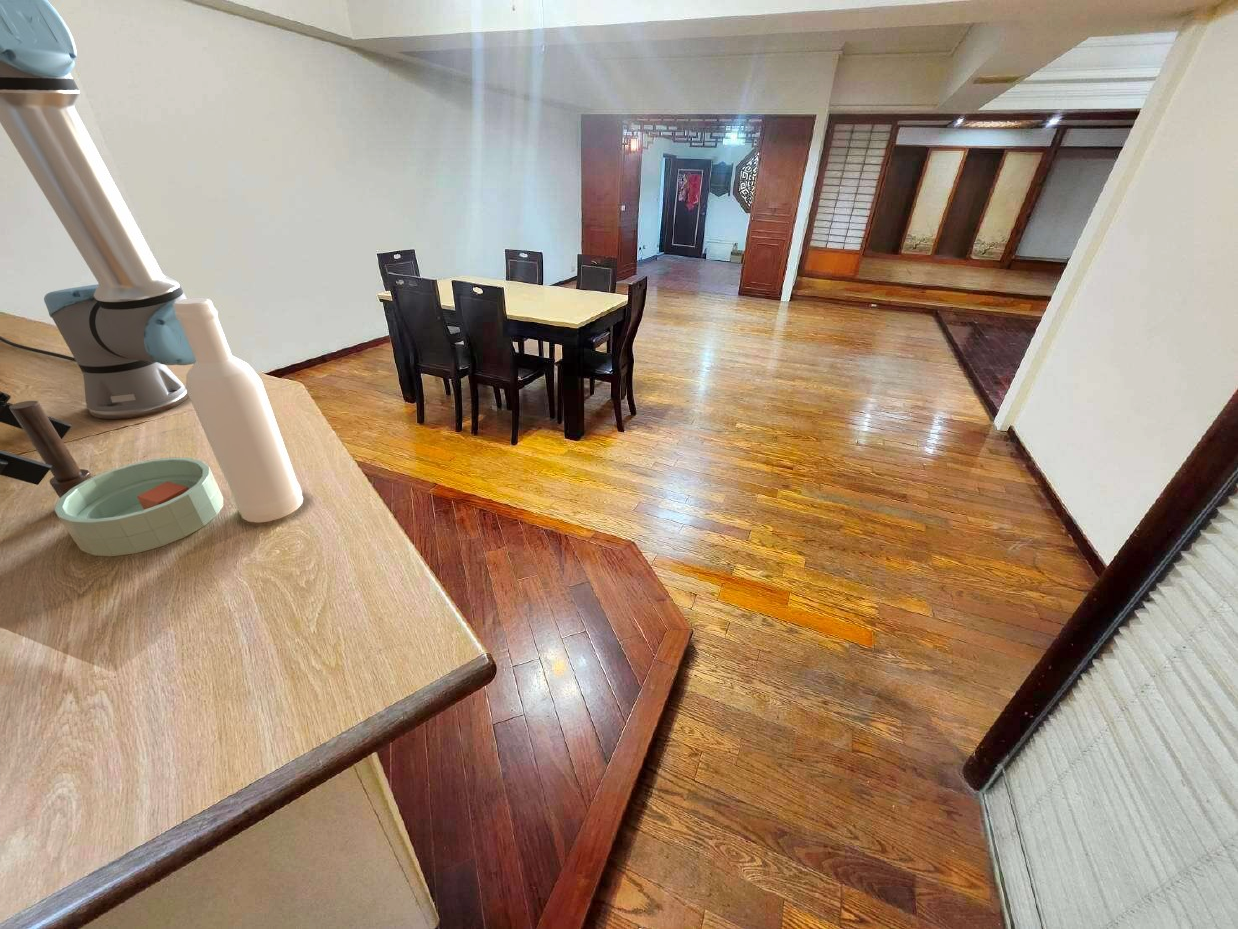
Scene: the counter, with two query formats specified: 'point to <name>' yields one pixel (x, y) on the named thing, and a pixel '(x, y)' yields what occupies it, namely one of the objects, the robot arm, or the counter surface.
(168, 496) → the block
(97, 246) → the robot arm
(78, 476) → the pestle
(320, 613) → the counter surface
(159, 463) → the bowl
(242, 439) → the bottle
